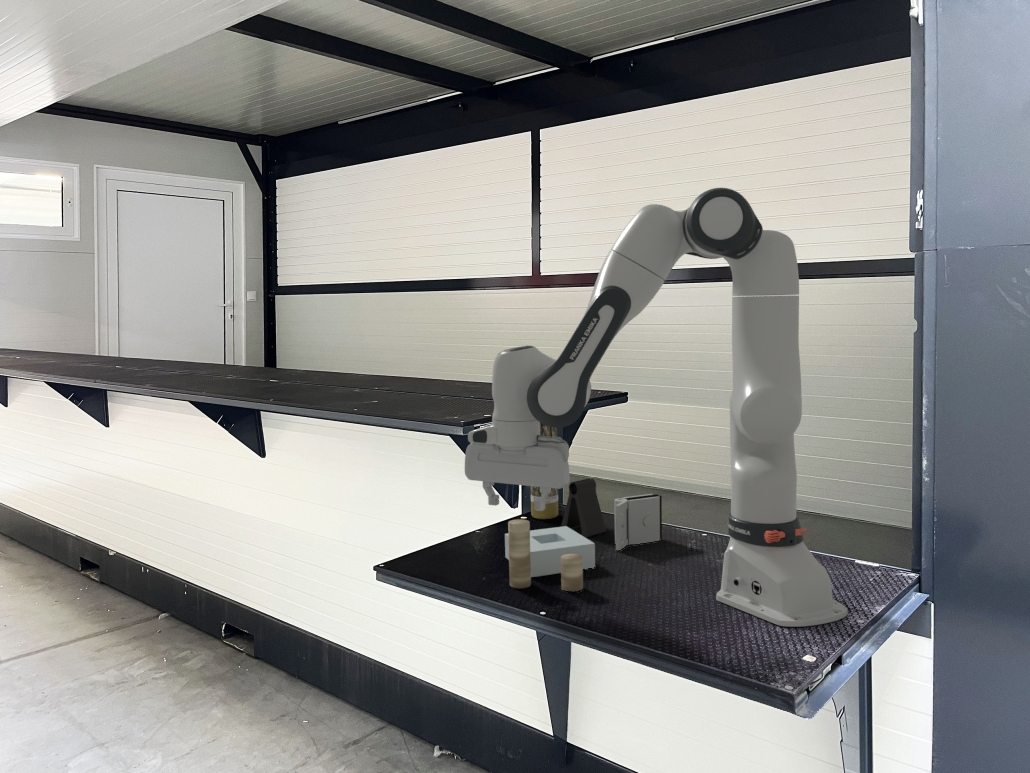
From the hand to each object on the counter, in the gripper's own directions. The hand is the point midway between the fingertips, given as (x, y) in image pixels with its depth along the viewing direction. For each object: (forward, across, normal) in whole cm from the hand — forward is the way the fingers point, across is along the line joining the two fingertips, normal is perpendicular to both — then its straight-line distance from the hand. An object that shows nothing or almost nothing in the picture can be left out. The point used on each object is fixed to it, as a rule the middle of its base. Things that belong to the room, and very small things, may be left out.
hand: (516, 507), depth 150 cm
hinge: (+15, -13, -33) cm, 38 cm away
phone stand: (+15, +1, -38) cm, 41 cm away
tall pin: (+15, -1, 0) cm, 15 cm away
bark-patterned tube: (+15, +14, -47) cm, 52 cm away
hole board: (+15, -1, -14) cm, 21 cm away
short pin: (+15, -10, -2) cm, 18 cm away
